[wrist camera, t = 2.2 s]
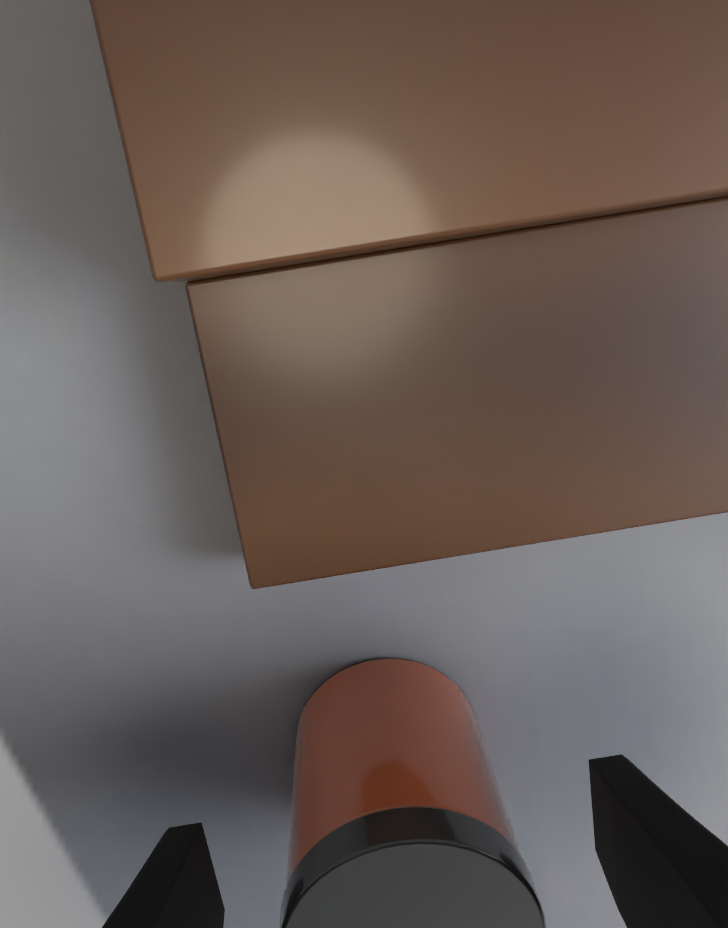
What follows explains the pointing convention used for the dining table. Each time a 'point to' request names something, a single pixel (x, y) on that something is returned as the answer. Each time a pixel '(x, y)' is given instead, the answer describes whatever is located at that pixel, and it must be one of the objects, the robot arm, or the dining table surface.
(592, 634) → the dining table surface
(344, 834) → the spice jar
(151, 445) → the dining table surface
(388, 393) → the spice shelf
